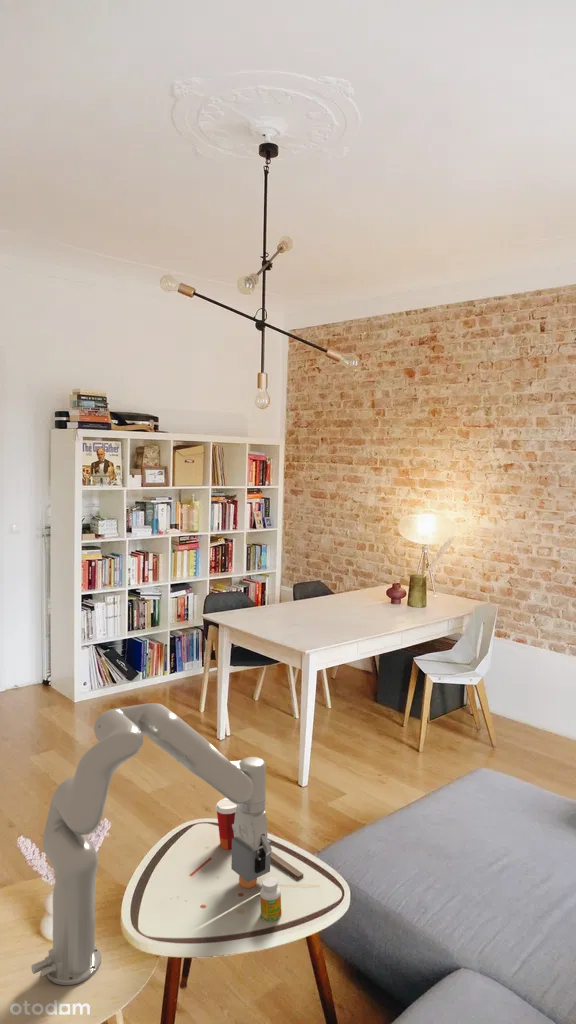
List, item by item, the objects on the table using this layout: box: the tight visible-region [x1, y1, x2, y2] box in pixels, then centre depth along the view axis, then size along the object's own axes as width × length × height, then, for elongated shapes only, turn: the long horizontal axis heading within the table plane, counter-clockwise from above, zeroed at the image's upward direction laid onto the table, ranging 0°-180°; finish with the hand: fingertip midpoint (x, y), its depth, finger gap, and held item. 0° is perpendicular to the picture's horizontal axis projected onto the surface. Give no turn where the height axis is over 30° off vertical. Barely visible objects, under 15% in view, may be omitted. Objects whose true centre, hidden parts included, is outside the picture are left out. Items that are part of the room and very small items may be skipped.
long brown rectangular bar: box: [270, 851, 304, 881], centre depth 198 cm, size 2×16×2 cm, turn 41°
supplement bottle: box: [259, 876, 282, 922], centre depth 177 cm, size 5×5×10 cm
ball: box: [238, 875, 258, 889], centre depth 189 cm, size 5×5×5 cm
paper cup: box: [214, 797, 238, 851], centre depth 208 cm, size 8×8×14 cm
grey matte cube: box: [230, 838, 272, 882], centre depth 189 cm, size 8×8×9 cm
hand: (250, 863), depth 190 cm, fingers closed on grey matte cube, 7 cm apart
